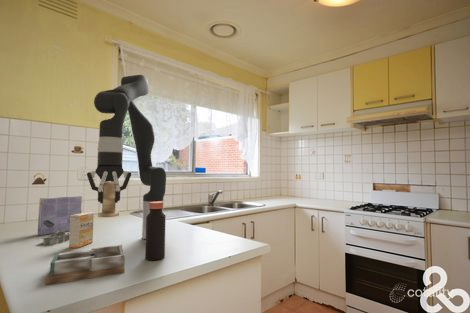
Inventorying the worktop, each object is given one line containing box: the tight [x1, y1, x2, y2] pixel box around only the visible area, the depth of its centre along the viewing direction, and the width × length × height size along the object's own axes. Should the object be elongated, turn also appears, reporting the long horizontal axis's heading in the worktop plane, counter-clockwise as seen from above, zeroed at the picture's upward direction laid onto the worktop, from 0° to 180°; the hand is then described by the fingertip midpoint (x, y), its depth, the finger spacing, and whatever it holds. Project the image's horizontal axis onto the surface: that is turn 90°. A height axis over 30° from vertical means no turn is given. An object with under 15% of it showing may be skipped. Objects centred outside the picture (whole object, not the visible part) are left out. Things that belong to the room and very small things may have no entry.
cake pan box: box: [37, 195, 83, 236], centre depth 134 cm, size 19×5×18 cm, turn 144°
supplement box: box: [68, 212, 95, 249], centre depth 111 cm, size 8×5×13 cm, turn 168°
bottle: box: [144, 201, 167, 262], centre depth 95 cm, size 7×7×20 cm
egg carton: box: [41, 230, 70, 246], centre depth 116 cm, size 11×8×4 cm
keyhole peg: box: [97, 181, 120, 218], centre depth 87 cm, size 6×6×11 cm
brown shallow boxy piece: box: [45, 244, 125, 286], centre depth 84 cm, size 20×16×5 cm
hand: (108, 202), depth 87 cm, fingers closed on keyhole peg, 4 cm apart
